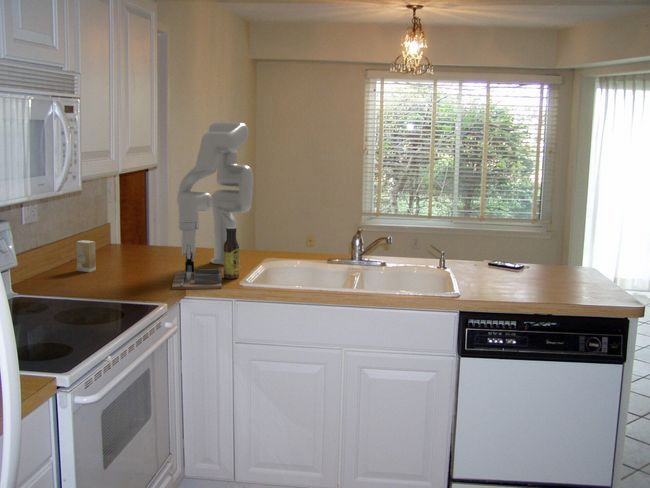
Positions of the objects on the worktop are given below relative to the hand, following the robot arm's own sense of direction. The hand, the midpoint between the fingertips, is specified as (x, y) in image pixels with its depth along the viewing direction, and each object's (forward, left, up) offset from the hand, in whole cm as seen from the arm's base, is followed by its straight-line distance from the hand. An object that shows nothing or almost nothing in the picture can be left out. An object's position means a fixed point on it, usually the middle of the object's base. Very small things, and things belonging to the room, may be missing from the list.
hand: (189, 271), depth 269 cm
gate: (+7, 0, -1) cm, 7 cm away
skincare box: (-15, -42, -2) cm, 44 cm away
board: (+8, +3, -2) cm, 9 cm away
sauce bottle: (+3, +16, -2) cm, 17 cm away
